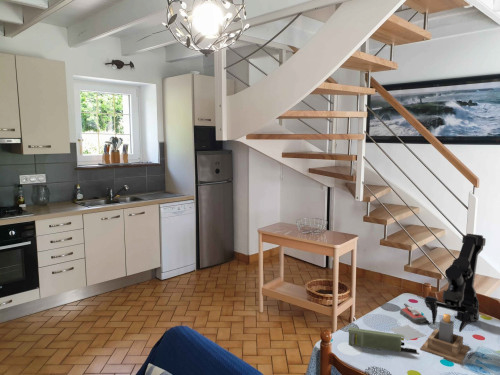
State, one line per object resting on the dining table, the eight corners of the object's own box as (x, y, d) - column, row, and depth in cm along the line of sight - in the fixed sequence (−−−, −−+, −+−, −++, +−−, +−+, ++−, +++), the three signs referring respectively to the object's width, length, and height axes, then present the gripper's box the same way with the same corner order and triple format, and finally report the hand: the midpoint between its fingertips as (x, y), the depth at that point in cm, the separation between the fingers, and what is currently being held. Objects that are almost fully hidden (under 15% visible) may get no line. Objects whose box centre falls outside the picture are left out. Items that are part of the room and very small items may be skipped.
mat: (407, 326, 167) (407, 324, 167) (425, 336, 158) (426, 335, 158) (389, 330, 163) (389, 329, 163) (407, 341, 154) (407, 340, 154)
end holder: (430, 337, 157) (431, 325, 157) (469, 348, 148) (470, 336, 148) (420, 350, 147) (420, 338, 146) (460, 364, 138) (461, 351, 137)
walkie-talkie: (433, 325, 169) (406, 306, 188) (433, 315, 168) (406, 297, 188) (415, 327, 167) (390, 308, 186) (416, 317, 166) (390, 299, 186)
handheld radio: (348, 341, 154) (416, 351, 146) (348, 346, 151) (416, 356, 143) (349, 326, 153) (417, 335, 145) (348, 330, 150) (417, 340, 142)
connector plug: (441, 343, 150) (442, 312, 149) (452, 347, 148) (454, 315, 146) (438, 347, 147) (439, 315, 146) (449, 351, 145) (451, 318, 143)
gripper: (427, 276, 155) (416, 311, 148) (479, 287, 143) (471, 326, 136) (431, 289, 162) (422, 323, 155) (482, 301, 150) (474, 339, 143)
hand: (446, 327), depth 147 cm, fingers open, 9 cm apart
